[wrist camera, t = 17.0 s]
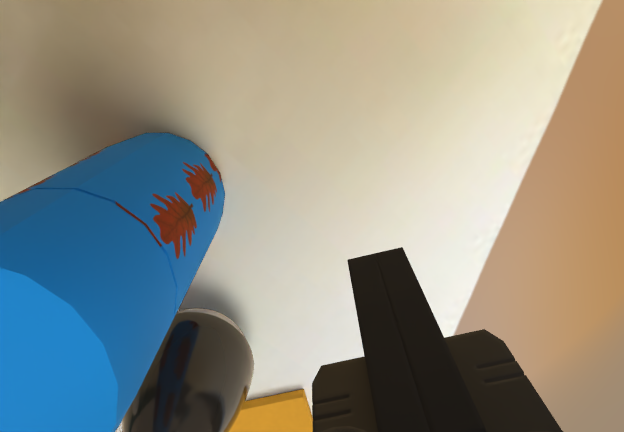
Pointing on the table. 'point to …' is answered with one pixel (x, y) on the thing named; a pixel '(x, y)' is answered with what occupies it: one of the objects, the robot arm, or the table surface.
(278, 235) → the table surface
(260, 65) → the table surface
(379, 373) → the robot arm
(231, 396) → the black glossy oval body
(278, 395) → the mustard mat
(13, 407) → the thermos
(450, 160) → the table surface
